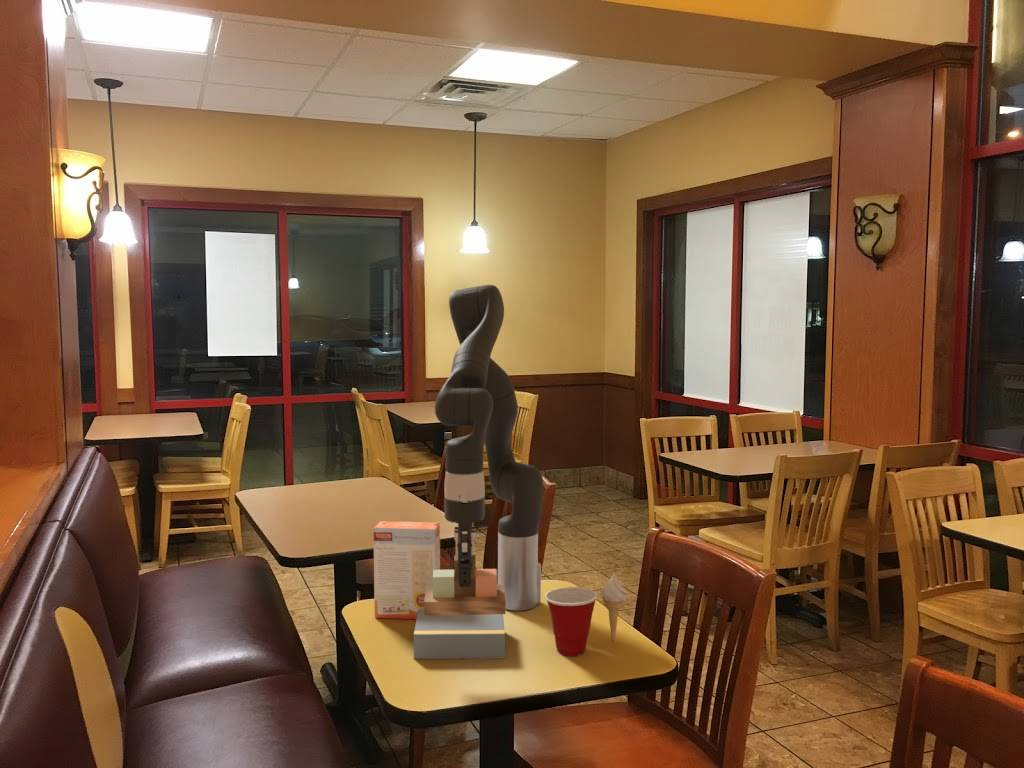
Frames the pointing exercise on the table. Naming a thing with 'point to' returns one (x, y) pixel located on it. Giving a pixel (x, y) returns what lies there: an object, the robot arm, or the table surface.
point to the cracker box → (404, 566)
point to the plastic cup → (571, 617)
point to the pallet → (464, 598)
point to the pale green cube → (443, 583)
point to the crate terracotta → (486, 583)
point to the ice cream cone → (613, 601)
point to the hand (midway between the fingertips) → (465, 582)
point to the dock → (459, 636)
